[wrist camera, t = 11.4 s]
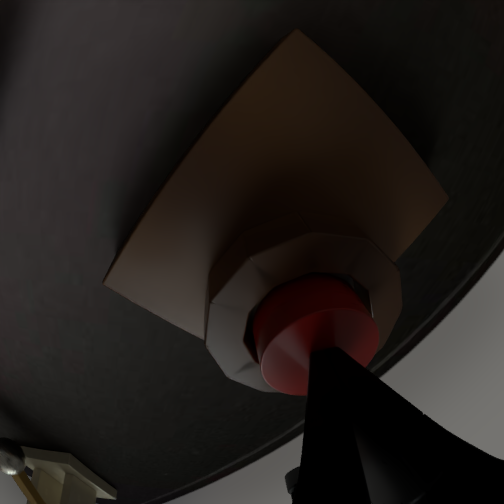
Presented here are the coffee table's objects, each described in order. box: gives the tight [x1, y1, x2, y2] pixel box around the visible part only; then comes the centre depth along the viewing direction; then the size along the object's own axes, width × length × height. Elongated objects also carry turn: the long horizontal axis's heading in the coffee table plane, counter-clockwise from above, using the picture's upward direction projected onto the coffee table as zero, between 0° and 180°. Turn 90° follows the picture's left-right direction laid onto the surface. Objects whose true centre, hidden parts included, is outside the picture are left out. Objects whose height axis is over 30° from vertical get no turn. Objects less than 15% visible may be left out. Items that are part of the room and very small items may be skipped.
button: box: [253, 274, 379, 395], centre depth 9 cm, size 4×4×2 cm
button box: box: [103, 28, 449, 392], centre depth 10 cm, size 10×9×4 cm
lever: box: [0, 437, 46, 504], centre depth 14 cm, size 12×3×3 cm, turn 8°
